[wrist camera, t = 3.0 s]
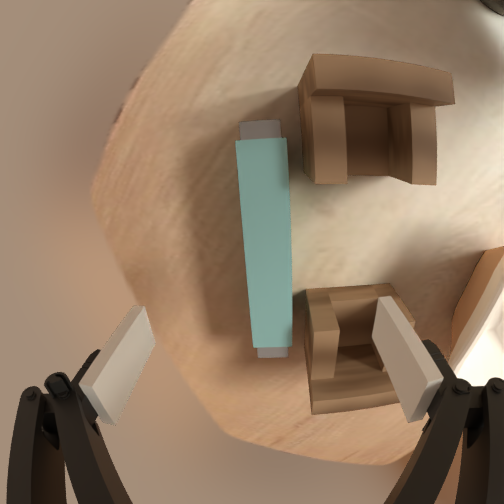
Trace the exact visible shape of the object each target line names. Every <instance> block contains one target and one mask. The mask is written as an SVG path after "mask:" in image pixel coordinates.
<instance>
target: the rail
mask: <svg viewBox="0 0 504 504" xmlns="http://www.w3.org/2000/svg"><path fill="white" fill-rule="evenodd" d="M239 130H240V140H237V141H235V144H236V156H237V169H238V181H239V193H240V205H241V217H242V228H243V240H244V251H245V263H246V274H247V285H248V296H249V307H250V318H251V329H252V340H253V348H257V352H258V358H277V357H288V347H292V253H291V218H290V193H289V172H288V154H287V138H281V125H280V119H274V120H257V121H244V122H239Z"/></svg>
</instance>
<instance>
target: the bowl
mask: <svg viewBox="0 0 504 504" xmlns="http://www.w3.org/2000/svg"><path fill="white" fill-rule="evenodd" d="M448 364H449V366H450V367H451V369H452V370H453V372H454V373H455V375H456V377H457V378H461V379H464V380H466V381H468V382H469V383H470V384H471V386H485V385H486V383H487V382H488V380H489V379H491V378H494V377H497V378H501V379H503V380H504V246H503V247H498V248H494V249H490V250H486V251H485V252H484V254H483V256H482V257H481V259H480V260H479V262H478V263H477V265H476V267H475V269H474V271H473V274H472V276H471V278H470V280H469V282H468V284H467V286H466V288H465V290H464V292H463V294H462V296H461V298H460V300H459V302H458V304H457V306H456V309H455V312H454V315H453V318H452V338H451V356H450V358H449V361H448Z"/></svg>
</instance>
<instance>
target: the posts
mask: <svg viewBox="0 0 504 504" xmlns="http://www.w3.org/2000/svg"><path fill="white" fill-rule="evenodd" d="M298 94H299V106H300V119H301V133H302V149H303V167H304V173H305V174H306V175H307V176H308V177H309V178H310V179H311V180H312V181H313V182H314V183H315V184H347V175H375V176H391V177H394V178H397V179H399V180H402V181H405V182H407V183H410V184H417V185H436V177H437V136H436V116H435V107H436V106H444V105H452V104H455V98H454V89H453V81H452V74H451V73H449V72H445V71H441V70H437V69H433V68H429V67H424V66H420V65H415V64H409V63H404V62H398V61H392V60H385V59H378V58H370V57H360V56H349V55H333V54H313V55H312V57H311V59H310V61H309V63H308V65H307V67H306V69H305V71H304V74H303V76H302V78H301V80H300V82H299V84H298ZM386 296H391V297H392V298H393V300H394V301H395V303H396V304H397V306H398V307H399V309H400V310H401V311H402V313H403V314H404V316H405V317H406V319H407V320H408V322H409V323H410V325H411V326H412V328H413V329H414V326H415V322H416V321H415V319H414V318H413V316H412V315H411V313H410V312H409V310H408V309H407V307H406V306H405V305H404V303H403V302H402V300H401V299H400V297H399V296H398V294H397V293H396V292H395V290H394V289H393V287H392V286H391V285H390V283H387V284H375V285H362V286H347V287H332V288H315V289H306V314H305V347H304V348H305V357H306V365H307V374H308V383H309V393H310V402H311V413H312V415H316V414H328V413H337V412H346V411H353V410H360V409H367V408H373V407H379V406H385V405H390V404H395V403H400V401H399V399H398V396H397V394H396V391H395V389H394V386H393V384H392V382H391V379H390V377H389V375H388V372H387V370H386V368H385V365H384V363H383V361H382V359H381V356H380V354H379V352H378V350H377V347H376V345H375V343H374V341H373V339H372V332H373V327H374V322H375V316H376V310H377V304H378V298H379V297H386Z"/></svg>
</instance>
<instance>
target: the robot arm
mask: <svg viewBox="0 0 504 504" xmlns="http://www.w3.org/2000/svg"><path fill="white" fill-rule="evenodd" d="M480 1H481V2H483V3H484V4H485V5H486V6H488V7H489V8H490V9H492V10H493V11H495V12H497V13H499V14H501V15H503V16H504V0H480ZM372 339H373V341H374V343H375V345H376V347H377V350H378V352H379V354H380V356H381V359H382V361H383V363H384V365H385V368H386V370H387V372H388V375H389V377H390V379H391V382H392V384H393V386H394V389H395V391H396V394H397V396H398V399H399V401H400V404H401V406H402V409H403V411H404V414H405V416H406V419H407V422H408V423H410V422H414V421H418V420H421V419H423V417H424V416H425V414H426V412H428V415H429V417H430V418H429V420H428V421H427V423H426V425H425V426H424V428H423V429H422V431H423V433H422V435H421V437H420V439H419V441H418V444H417V446H416V448H415V450H414V452H413V454H412V456H411V458H410V460H409V462H408V463H407V465H406V467H405V469H404V471H403V473H402V474H401V476H400V478H399V480H398V482H397V483H396V485H395V487H394V488H393V490H392V491H391V493H390V495H389V496H388V498H387V499H386V501H385V502H384V504H434V503H435V500H436V498H437V496H438V494H439V492H440V490H441V488H442V485H443V483H444V481H445V479H446V476H447V474H448V471H449V469H450V466H451V464H452V461H453V459H454V456H455V453H456V450H457V447H458V444H459V441H460V438H461V435H462V432H463V445H462V458H461V467H460V476H459V483H458V489H457V495H456V501H455V504H504V380H503V379H501V378H497V377H494V378H491V379H489V380H488V382H487V383H486V385H485V386H471V384H470V383H469V382H468V381H466V380H464V379H461V378H457V377H456V375H455V373H454V372H453V370H452V369H451V367H450V366H449V364H448V362H447V361H446V359H444V356H443V355H442V353H441V352H440V350H439V349H438V347H437V346H436V345H435V344H434V343H433V342H431V341H430V340H424V341H421V340H420V338H419V337H418V335H417V334H416V332H415V331H414V329H413V328H412V326H411V325H410V323H409V322H408V320H407V319H406V317H405V316H404V314H403V313H402V311H401V310H400V309H399V307H398V306H397V304H396V303H395V301H394V300H393V298H392V297H391V296H386V297H379V298H378V304H377V310H376V316H375V322H374V327H373V332H372ZM155 344H156V343H155V339H154V336H153V333H152V330H151V326H150V323H149V320H148V316H147V313H146V309H145V306H133V307H132V308H131V309H130V311H129V312H128V313H127V315H126V316H125V317H124V319H123V320H122V322H121V323H120V324H119V326H118V327H117V328H116V330H115V331H114V333H113V335H111V337H110V338H109V340H108V341H107V343H106V344H105V345H104V347H103V348H102V350H98V349H97V350H96V351H94V352H93V353H92V354H90V356H89V357H88V358H87V360H86V362H85V363H84V364H83V365H82V368H80V370H79V371H78V373H77V374H76V376H75V377H74V379H73V380H72V381H71V382H70V380H69V378H68V377H67V375H66V374H64V373H62V372H57V373H54V374H51V375H50V376H49V377H48V378H47V379H46V380H45V383H44V386H45V387H46V389H47V391H48V392H49V394H43V393H42V392H41V390H40V389H39V388H38V387H36V386H32V387H28V388H27V389H25V390H24V391H23V393H22V395H21V398H20V402H19V406H18V411H17V416H16V420H15V425H14V431H13V437H12V443H11V450H10V458H9V467H8V479H7V504H67V502H66V488H65V463H66V467H67V470H68V473H69V477H70V480H71V483H72V487H73V489H74V493H75V495H76V498H77V501H78V504H133V503H132V502H131V500H130V498H129V496H128V494H127V492H126V490H125V488H124V486H123V484H122V482H121V480H120V478H119V476H118V473H117V471H116V469H115V467H114V464H113V462H112V460H111V458H110V455H109V453H108V450H107V448H106V445H105V443H104V440H103V437H102V435H101V432H100V429H99V426H98V424H97V423H96V421H95V420H96V418H97V416H99V417H100V419H101V420H102V422H103V423H107V424H111V425H115V426H116V424H117V422H118V420H119V418H120V416H121V414H122V412H123V409H124V407H125V405H126V403H127V401H128V399H129V397H130V394H131V392H132V390H133V388H134V386H135V384H136V382H137V380H138V378H139V376H140V374H141V372H142V370H143V368H144V366H145V364H146V362H147V360H148V358H149V356H150V354H151V352H152V349H153V348H154V346H155Z"/></svg>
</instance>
